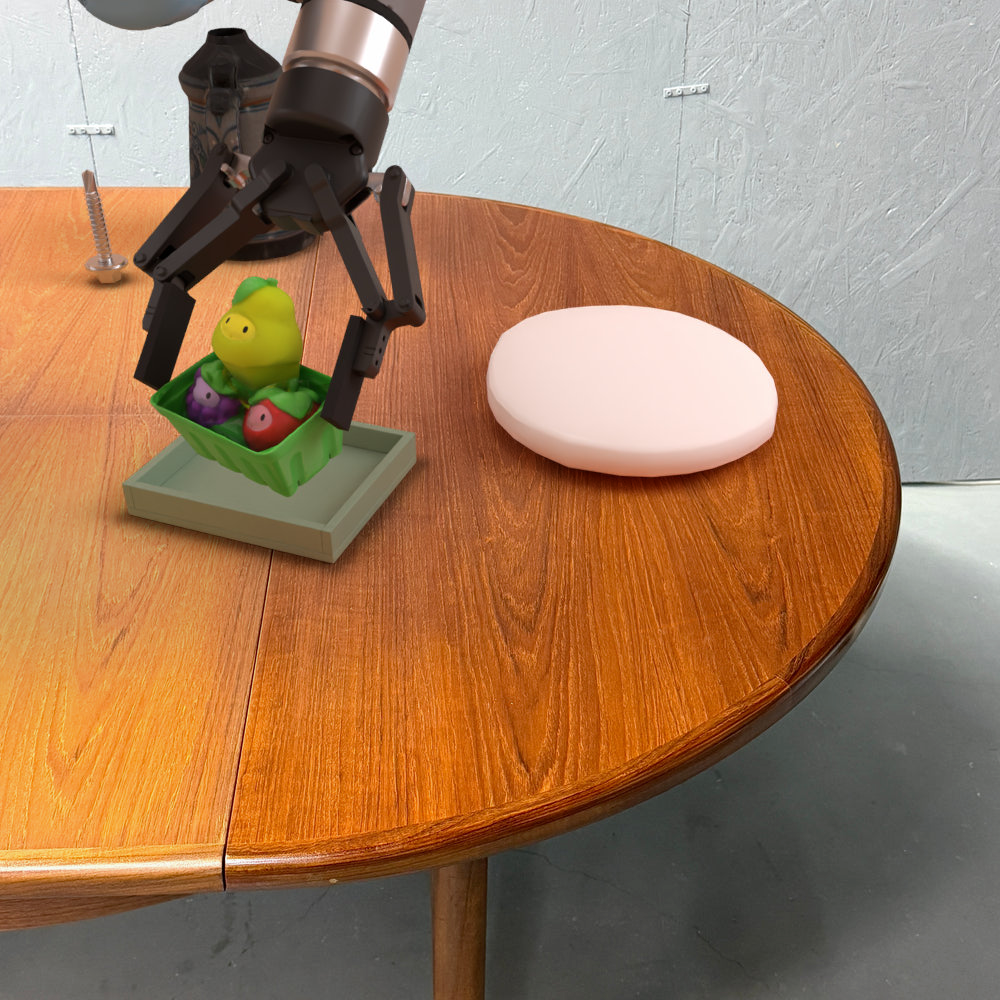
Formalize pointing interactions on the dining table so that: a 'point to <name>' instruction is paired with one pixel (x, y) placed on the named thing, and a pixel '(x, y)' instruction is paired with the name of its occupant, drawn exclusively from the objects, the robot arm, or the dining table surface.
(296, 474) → the fruit basket
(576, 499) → the dining table surface
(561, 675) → the dining table surface
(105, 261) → the screw
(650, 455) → the pale pink round cushion
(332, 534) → the tray
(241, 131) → the dark brown tall vessel
